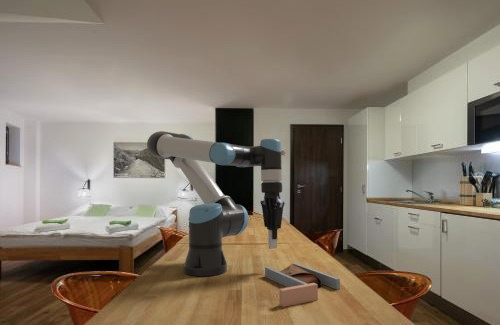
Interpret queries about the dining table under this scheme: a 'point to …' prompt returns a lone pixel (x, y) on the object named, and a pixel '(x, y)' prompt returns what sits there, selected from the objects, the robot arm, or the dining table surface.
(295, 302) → the gate
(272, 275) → the channel
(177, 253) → the dining table surface
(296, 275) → the sunglasses case
